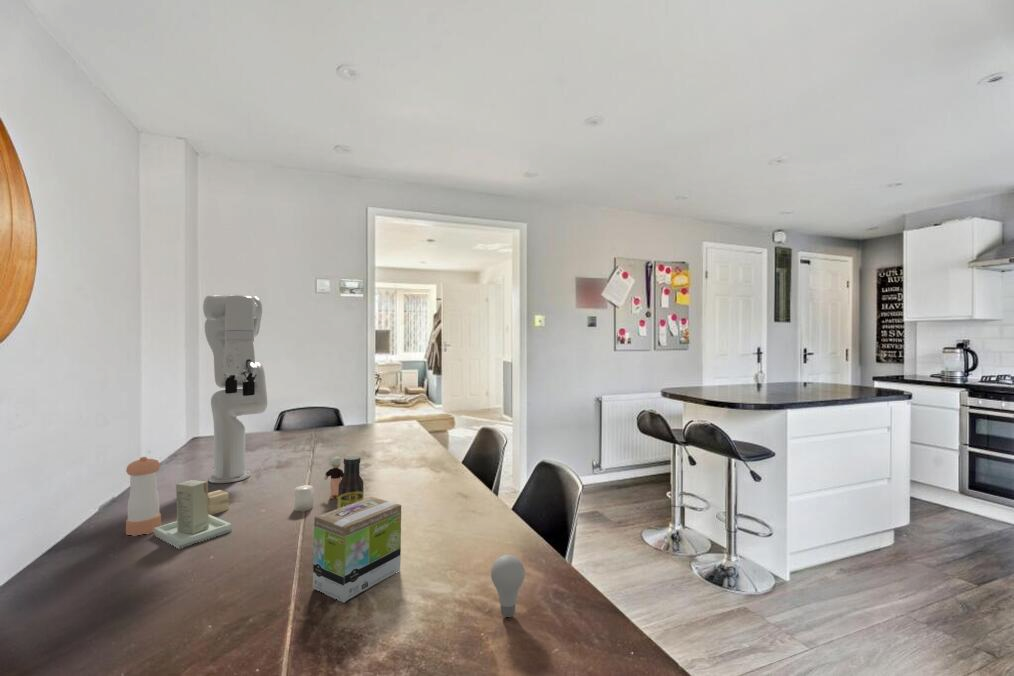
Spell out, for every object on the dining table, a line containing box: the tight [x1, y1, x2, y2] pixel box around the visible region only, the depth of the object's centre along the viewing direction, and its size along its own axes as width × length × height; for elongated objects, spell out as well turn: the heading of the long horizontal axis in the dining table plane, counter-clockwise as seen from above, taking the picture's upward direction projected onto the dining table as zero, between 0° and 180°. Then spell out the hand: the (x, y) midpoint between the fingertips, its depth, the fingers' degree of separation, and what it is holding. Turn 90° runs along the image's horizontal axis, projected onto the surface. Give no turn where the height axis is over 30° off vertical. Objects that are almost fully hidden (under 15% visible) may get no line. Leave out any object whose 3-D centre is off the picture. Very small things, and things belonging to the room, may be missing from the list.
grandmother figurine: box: [323, 456, 344, 500], centre depth 146 cm, size 8×4×13 cm, turn 84°
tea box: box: [312, 496, 402, 604], centre depth 97 cm, size 15×10×15 cm, turn 148°
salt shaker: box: [125, 456, 162, 536], centre depth 121 cm, size 7×7×19 cm
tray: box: [153, 515, 232, 550], centre depth 119 cm, size 14×12×2 cm
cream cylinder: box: [294, 484, 314, 512], centre depth 137 cm, size 5×5×6 cm
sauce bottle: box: [336, 455, 365, 509], centre depth 118 cm, size 7×6×20 cm
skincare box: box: [175, 479, 209, 534], centre depth 119 cm, size 6×4×12 cm
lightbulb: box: [490, 554, 526, 618], centre depth 84 cm, size 6×6×11 cm
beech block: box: [208, 489, 230, 516], centre depth 135 cm, size 5×5×5 cm
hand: (239, 394), depth 139 cm, fingers open, 9 cm apart
